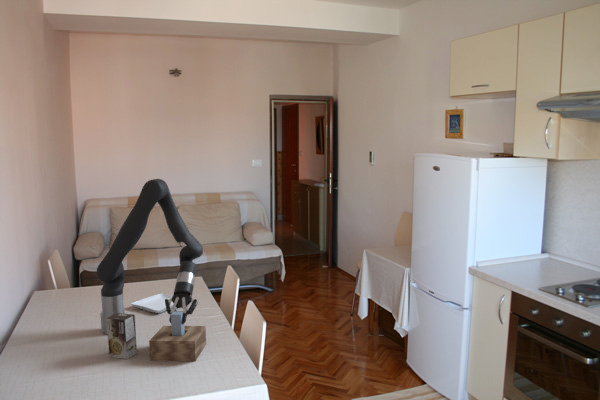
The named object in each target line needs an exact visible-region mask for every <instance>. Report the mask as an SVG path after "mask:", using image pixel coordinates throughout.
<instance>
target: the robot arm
mask: <svg viewBox="0 0 600 400" xmlns="http://www.w3.org/2000/svg"><path fill="white" fill-rule="evenodd" d="M157 203H158V205H159V207H160V209H161V210H162V212H163V216H164V219H165V222H166V224H167V227H168V229H169V232H170V234H171V235H172V237H173V238H174V240H175V242H176V243H177V244H178V243H179V244H180V243H183V244H185V246H183V247H182V248H181V249H180V251H179V271H178V275H177V277H176V280H175V281H176V282H175V287H174V291H173V295H172V296H173V297H172V299H169V300H168V299H165V305H166V311H165V312H166V313H167V314H168V315H169V319H168V321H169V323H170V324H171V314H172V313H173V312H174V311H179V309H183V310H182V311H183V316H182V321H181V323H182V324H184V325H185V323H186V322H187V318H188V316H189V315H192V314H193V313H194V311H195V309H196V308H197V305H198V304H199V302H198V300H197V298H193V293H194V288H195V282H196V273H197V264H196V263H195V262H193V261H194V260H196V259H198V258H200V257H202V255H203V254H204V253H203V252H204V249H203V245H202V244H201V242H200V241H199V240H198V239H197V238H196V236H194V235H193V234H192V233H191V232H190V229H188V227H187V225H186V223H185V221H184V220H183V218H182V216H181V214H180V212H179V210H178V209H177V206H176V204H175V201H174V200H173V196H172V193H171V190H170V188H169V185H168V184H167V182H166V181H165V180H163V179H162V178H161V179H160V178H153V179H149V180H148V181H146V182H145V183H144V185H143V186H142V189H141V191H140V193H139V196H138V198H137V201H136V202H135V204H134V205H133V208H131V211H130V212H129V214H128V215H127V216H126V218H125V220H124V221H123V223H122V225H121V227H120V229H119V231H118V233H117V235H116V236H115V238H114V240H113V243H112V244H111V246H110V248H109V250H108V252H107V253H106V254H105V255H104V257H103V258H102V260H101V261H100V263H99V264H98V266H97V268H96V276H97V278H98V280H99V281H101V282H103V284H102V288H100V289H101V290H100V295H101V296H100V297H101V311H100V313H99V315H100V326H101V334H105V335H108V332H107V320H106V318H108V317H110V316H112V315H113V314H116V313H123V314H125V304H124V287H125V268H124V264H123V261H124V260H125V258H126V256H127V255H128V254H129V253H130V252H131V250H132V249H133V248H135V246H136V244H138V242H139V241H140V240H141V237H142V235H143V234H144V232H145V230H146V228H147V224H148V221H149V217H150V213H151V212H152V210H153V209H154V207H155V206H156V205H157ZM171 302H173V303H174V304H173V306H172V309H170V305H171ZM189 305H190V306H189ZM188 306H189V308H188Z"/></svg>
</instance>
